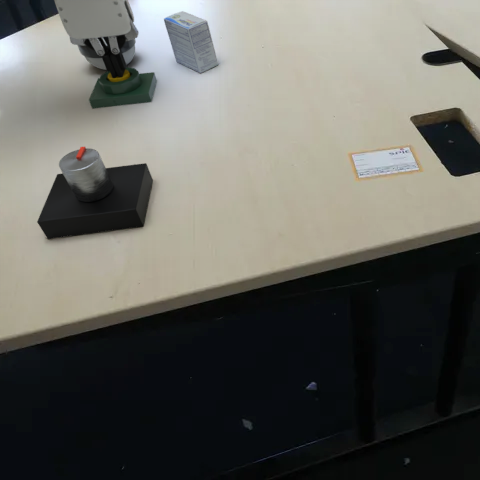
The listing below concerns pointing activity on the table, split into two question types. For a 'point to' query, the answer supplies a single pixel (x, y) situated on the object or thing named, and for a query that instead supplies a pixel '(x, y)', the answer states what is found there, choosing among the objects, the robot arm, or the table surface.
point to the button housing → (123, 90)
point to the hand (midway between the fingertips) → (119, 73)
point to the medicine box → (191, 41)
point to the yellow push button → (117, 79)
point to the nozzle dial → (86, 174)
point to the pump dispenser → (126, 49)
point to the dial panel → (98, 205)
